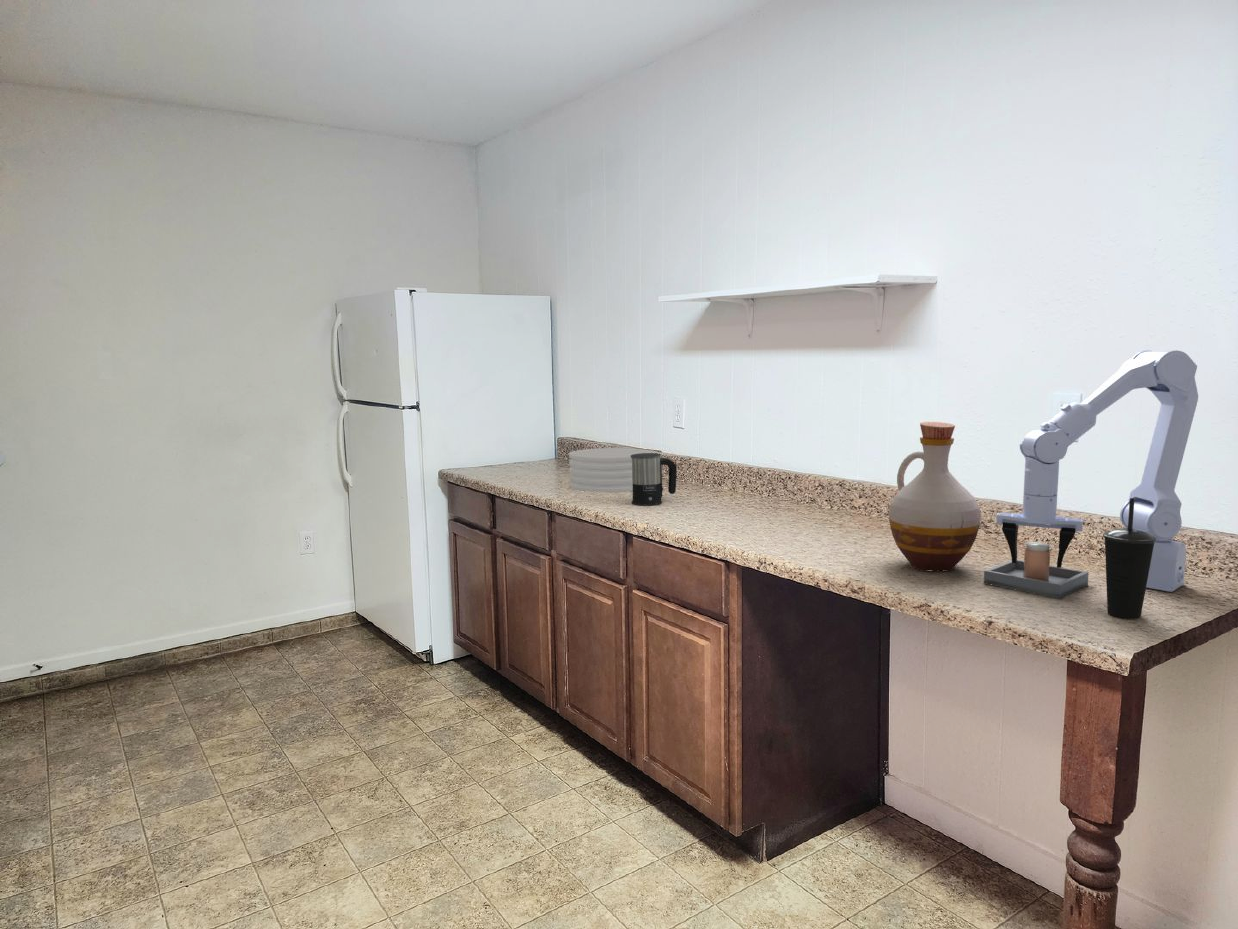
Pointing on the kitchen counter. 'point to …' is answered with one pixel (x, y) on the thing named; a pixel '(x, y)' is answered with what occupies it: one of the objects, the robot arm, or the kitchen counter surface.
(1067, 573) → the tray
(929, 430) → the jug
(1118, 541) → the drinking cup
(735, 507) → the kitchen counter surface
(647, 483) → the milk frother
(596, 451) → the plate stack
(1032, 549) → the shaker
